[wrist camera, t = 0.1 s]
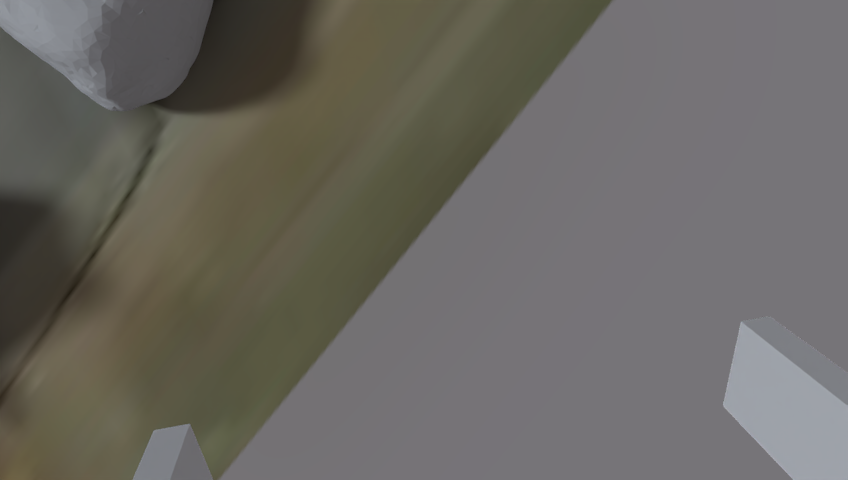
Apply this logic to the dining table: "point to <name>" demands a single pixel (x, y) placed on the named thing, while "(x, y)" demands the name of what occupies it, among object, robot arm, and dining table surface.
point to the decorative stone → (113, 43)
